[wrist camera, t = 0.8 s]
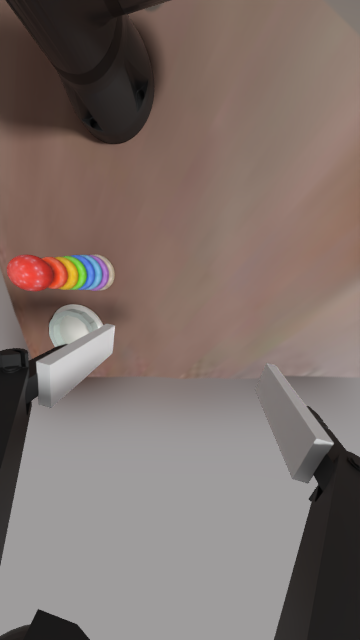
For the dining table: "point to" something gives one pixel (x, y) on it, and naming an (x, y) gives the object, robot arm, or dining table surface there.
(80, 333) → the collar base
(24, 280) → the stacking toy
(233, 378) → the dining table surface
